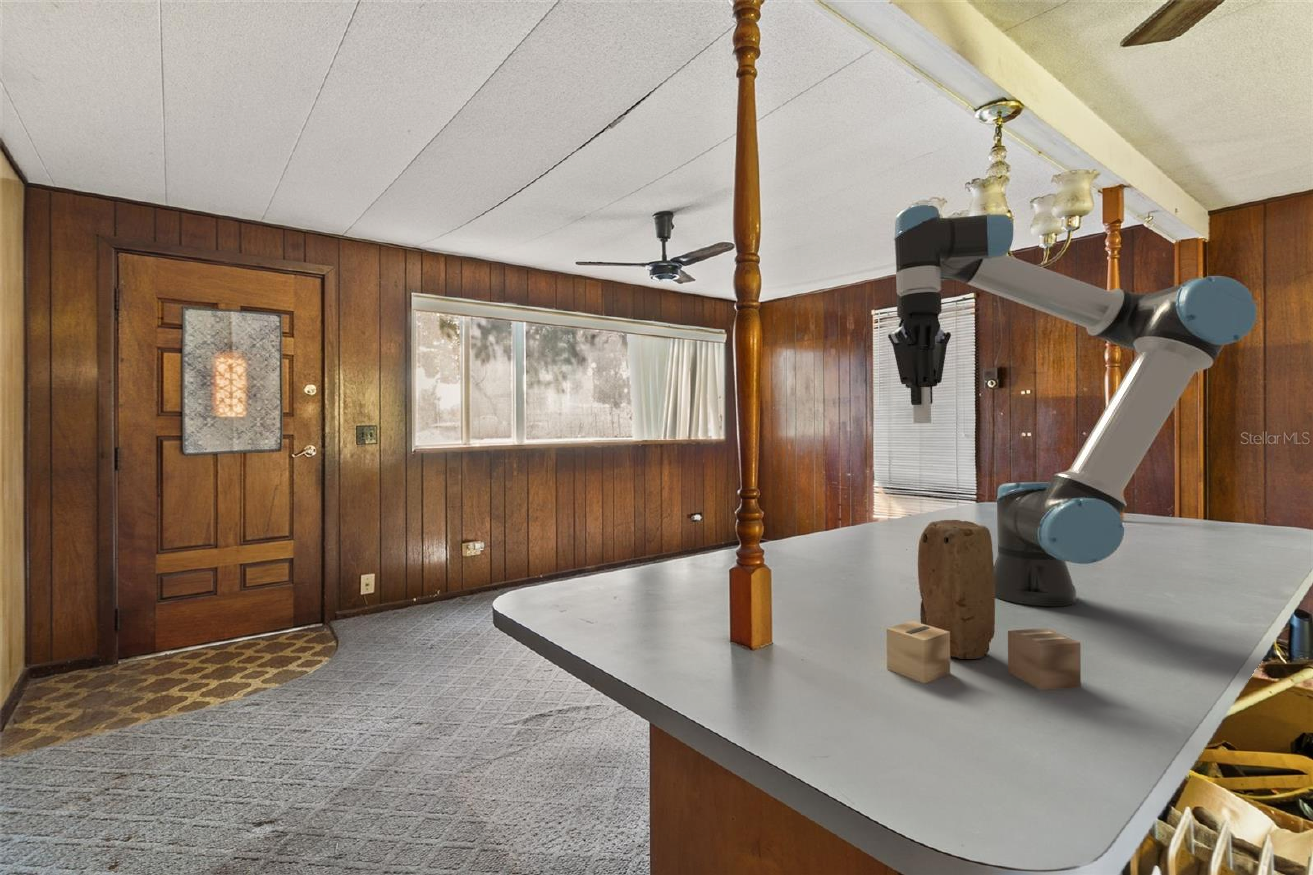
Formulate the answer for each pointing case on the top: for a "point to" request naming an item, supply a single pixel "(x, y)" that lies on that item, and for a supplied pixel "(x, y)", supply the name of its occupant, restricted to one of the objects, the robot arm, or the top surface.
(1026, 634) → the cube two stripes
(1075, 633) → the top surface
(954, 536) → the block
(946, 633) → the cube one stripe
